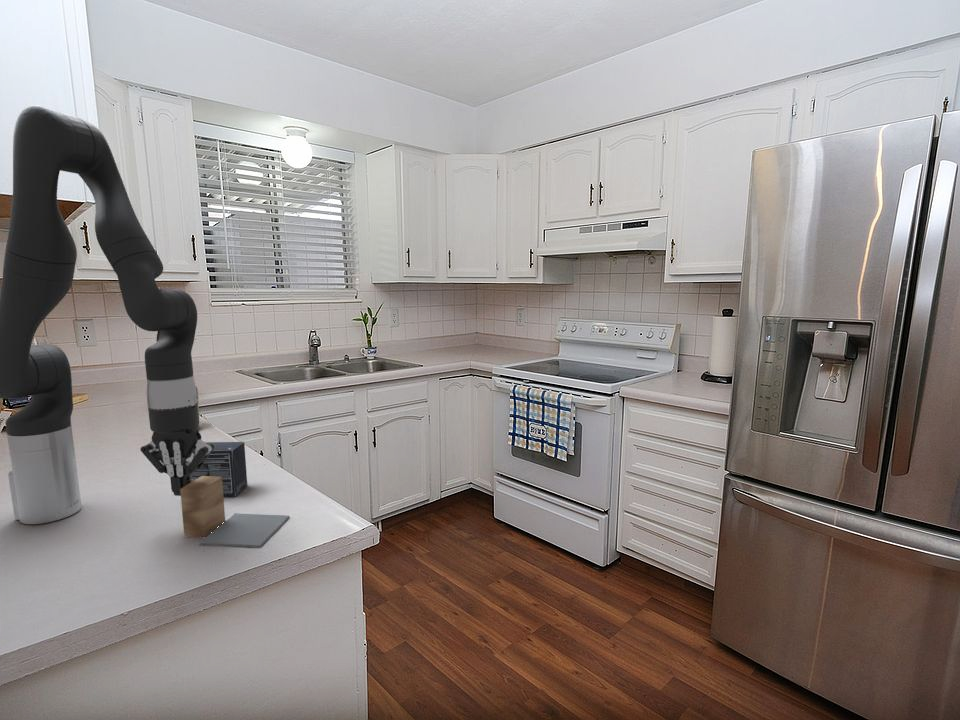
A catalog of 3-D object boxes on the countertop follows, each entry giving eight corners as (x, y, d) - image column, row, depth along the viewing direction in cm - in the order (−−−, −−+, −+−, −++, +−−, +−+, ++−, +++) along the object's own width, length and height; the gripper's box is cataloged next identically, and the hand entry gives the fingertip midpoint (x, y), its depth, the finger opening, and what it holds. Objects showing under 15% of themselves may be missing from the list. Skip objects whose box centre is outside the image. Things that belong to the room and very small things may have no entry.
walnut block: (184, 536, 88) (180, 489, 87) (205, 520, 94) (201, 475, 93) (205, 537, 88) (201, 490, 86) (225, 521, 94) (222, 476, 92)
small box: (249, 485, 111) (246, 440, 109) (236, 497, 104) (232, 450, 102) (201, 485, 110) (197, 440, 109) (185, 498, 104) (181, 450, 102)
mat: (199, 544, 85) (199, 542, 85) (235, 515, 96) (235, 513, 96) (260, 547, 84) (260, 545, 84) (289, 517, 95) (289, 515, 95)
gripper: (121, 406, 84) (132, 501, 87) (194, 408, 83) (203, 504, 86) (153, 396, 92) (162, 484, 94) (221, 398, 91) (228, 486, 93)
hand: (182, 494), depth 90 cm, fingers closed
